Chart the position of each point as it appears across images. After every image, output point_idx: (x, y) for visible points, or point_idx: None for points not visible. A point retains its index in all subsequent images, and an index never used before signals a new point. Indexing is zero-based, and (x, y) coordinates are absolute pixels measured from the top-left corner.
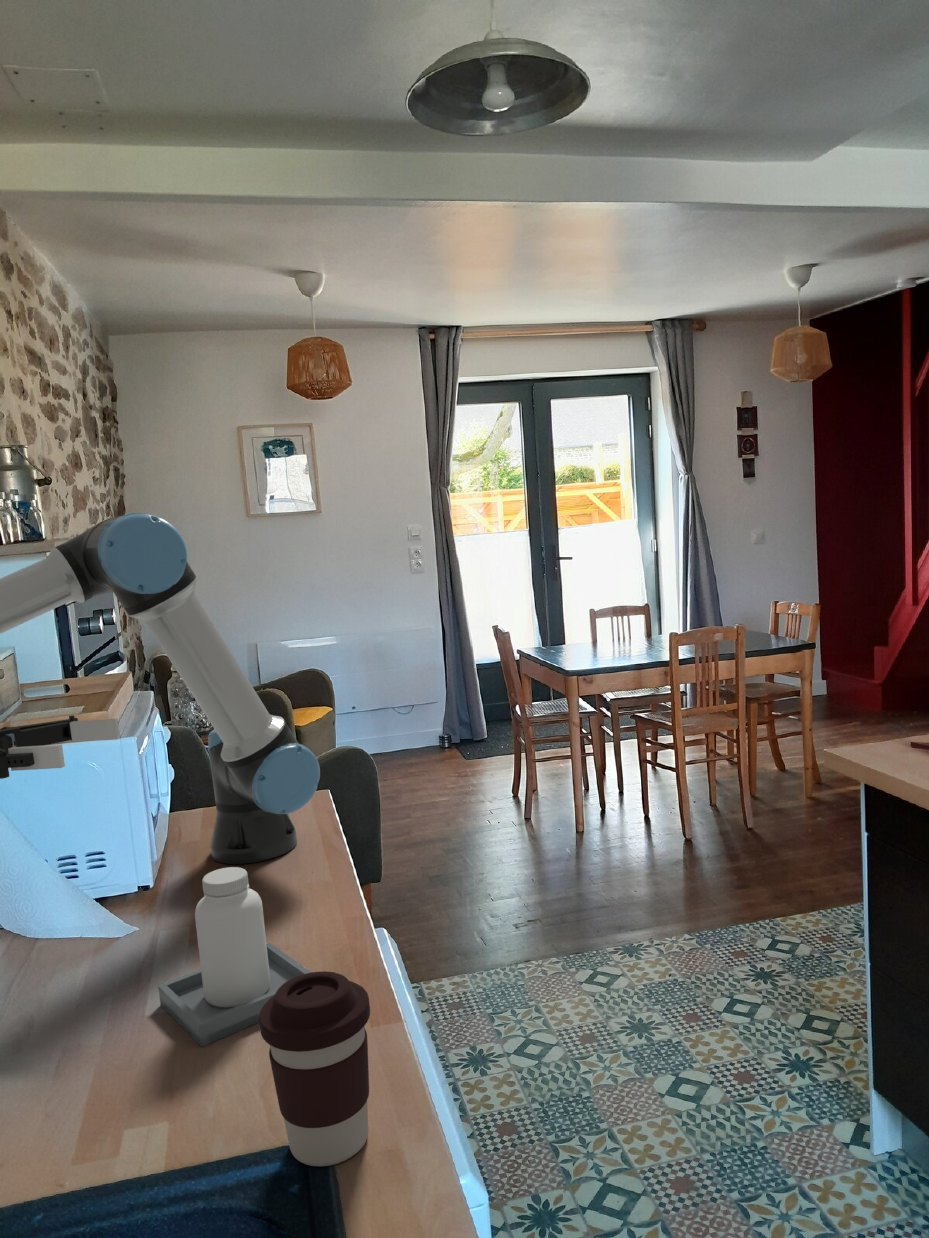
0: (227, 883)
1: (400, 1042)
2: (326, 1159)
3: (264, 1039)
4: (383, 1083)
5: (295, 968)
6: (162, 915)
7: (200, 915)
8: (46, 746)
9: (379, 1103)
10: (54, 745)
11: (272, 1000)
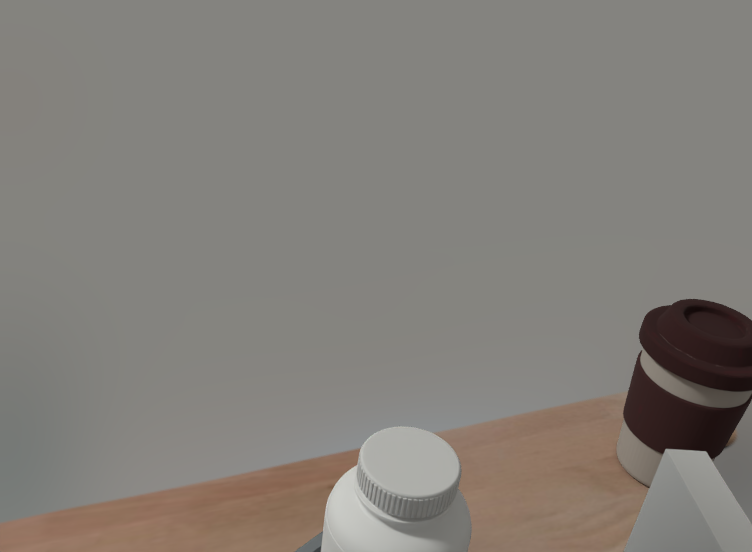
0: (450, 446)
1: (471, 426)
2: None
3: None
4: (550, 433)
5: None
6: None
7: (462, 546)
8: (744, 520)
9: (583, 434)
10: (702, 481)
11: (722, 369)
